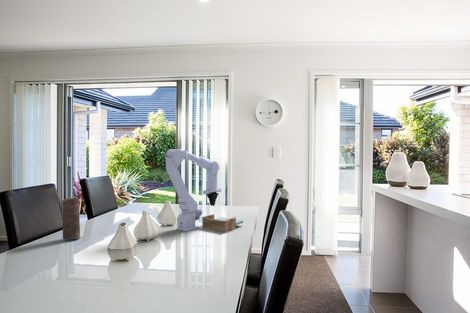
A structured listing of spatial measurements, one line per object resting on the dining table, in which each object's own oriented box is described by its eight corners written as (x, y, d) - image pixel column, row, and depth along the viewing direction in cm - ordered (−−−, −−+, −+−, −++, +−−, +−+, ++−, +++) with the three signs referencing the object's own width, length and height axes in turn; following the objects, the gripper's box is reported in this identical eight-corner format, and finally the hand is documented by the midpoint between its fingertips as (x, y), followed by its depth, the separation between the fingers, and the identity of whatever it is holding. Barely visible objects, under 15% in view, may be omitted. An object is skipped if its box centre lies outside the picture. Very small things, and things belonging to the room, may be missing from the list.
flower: (198, 210, 182) (197, 200, 191) (185, 216, 182) (184, 206, 191) (205, 221, 187) (203, 211, 196) (192, 227, 187) (191, 216, 196)
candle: (72, 242, 143) (71, 199, 142) (58, 241, 144) (58, 198, 144) (83, 237, 150) (83, 196, 150) (70, 236, 152) (69, 196, 151)
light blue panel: (236, 223, 166) (243, 220, 172) (212, 219, 175) (220, 217, 180) (236, 225, 166) (243, 222, 172) (212, 221, 175) (220, 219, 181)
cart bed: (226, 232, 158) (226, 220, 158) (202, 228, 167) (202, 217, 167) (236, 228, 166) (235, 217, 165) (212, 224, 175) (212, 214, 174)
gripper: (209, 183, 169) (210, 208, 169) (225, 181, 181) (225, 204, 181) (200, 182, 173) (200, 206, 173) (215, 180, 185) (215, 203, 185)
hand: (212, 205), depth 177 cm, fingers closed
